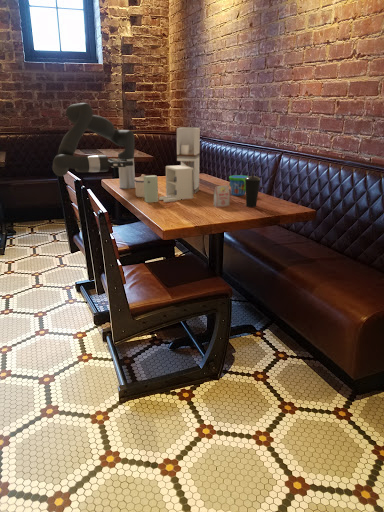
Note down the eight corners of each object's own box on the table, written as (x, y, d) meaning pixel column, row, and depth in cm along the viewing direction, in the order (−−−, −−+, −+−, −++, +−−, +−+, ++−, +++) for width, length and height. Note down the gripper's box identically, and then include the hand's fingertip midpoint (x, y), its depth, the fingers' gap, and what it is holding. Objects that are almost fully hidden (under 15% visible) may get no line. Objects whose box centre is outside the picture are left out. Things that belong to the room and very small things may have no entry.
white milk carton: (213, 205, 201) (214, 185, 197) (226, 204, 203) (226, 184, 199) (216, 207, 197) (216, 187, 194) (229, 206, 200) (229, 186, 196)
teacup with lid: (153, 197, 219) (152, 175, 215) (136, 197, 217) (135, 176, 213) (150, 192, 230) (149, 172, 226) (134, 193, 228) (133, 172, 224)
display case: (181, 188, 242) (181, 127, 229) (199, 189, 240) (199, 127, 227) (177, 192, 231) (176, 128, 219) (195, 193, 229) (195, 128, 217)
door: (144, 201, 209) (143, 176, 204) (155, 200, 212) (154, 175, 207) (148, 203, 205) (147, 177, 201) (158, 201, 208) (158, 176, 203)
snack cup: (223, 192, 231) (224, 174, 228) (240, 191, 235) (241, 173, 231) (235, 198, 217) (236, 179, 214) (253, 196, 221) (254, 178, 217)
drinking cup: (241, 204, 203) (243, 164, 196) (256, 204, 204) (259, 164, 197) (245, 208, 196) (247, 166, 189) (260, 207, 197) (263, 166, 190)
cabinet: (152, 196, 219) (151, 167, 214) (182, 193, 227) (182, 165, 222) (164, 202, 207) (163, 170, 201) (194, 198, 215) (195, 168, 209)
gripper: (100, 157, 182) (134, 155, 190) (92, 154, 194) (124, 153, 201) (101, 173, 185) (135, 171, 192) (93, 169, 196) (125, 168, 204)
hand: (129, 162), depth 197 cm, fingers open, 8 cm apart
